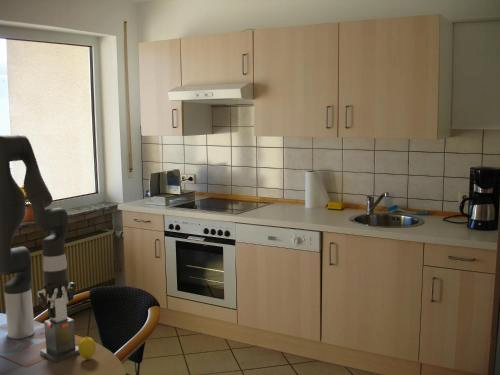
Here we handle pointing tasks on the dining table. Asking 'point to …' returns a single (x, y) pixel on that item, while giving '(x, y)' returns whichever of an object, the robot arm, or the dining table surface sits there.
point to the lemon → (87, 347)
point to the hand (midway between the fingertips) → (58, 315)
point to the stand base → (59, 340)
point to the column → (59, 310)
